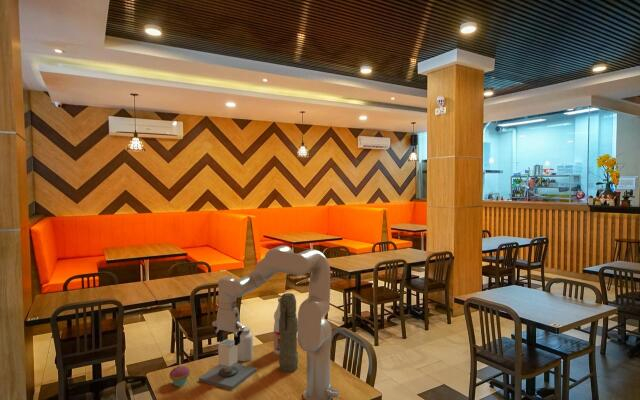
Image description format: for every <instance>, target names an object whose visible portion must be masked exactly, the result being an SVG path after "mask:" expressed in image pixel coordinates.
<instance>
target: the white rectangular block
mask: <svg viewBox="0 0 640 400" xmlns="http://www.w3.org/2000/svg"><path fill="white" fill-rule="evenodd" d="M217 344H218V345H217V346H218V347H217V348H218V349H217V350H218V353H217V354H218V358H217V359H218V365H219V366H221V367H225V368H231V367H232V366H234V365H235V364H239V363H238V362H239V360H238V345H235V344H234V339H229V338H226V339H223V340H221V341H220V342H218V343H217ZM218 365H217V366H218Z"/></svg>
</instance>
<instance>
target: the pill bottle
mask: <svg viewBox="0 0 640 400" xmlns="http://www.w3.org/2000/svg"><path fill="white" fill-rule="evenodd" d="M244 327H245V328H244V330H243V333H242V334H241V335H240V343H239V344H238V362H248V361H250V360H252V359H253V353H254V351H253V347H254V346H253V345H254V343H253V338H254V337H253V334H252V333H251V329H250V327H248V326H244ZM239 330H240V329H239Z"/></svg>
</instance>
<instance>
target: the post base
mask: <svg viewBox="0 0 640 400" xmlns="http://www.w3.org/2000/svg"><path fill="white" fill-rule="evenodd" d="M256 372H257V367H253V366H249V365H245V364H241V363H240V364H239V363H237V364H235V365H234V366H232V367H231V368H225V367H221V366H219V365H216V366H215V367H214V368H213V367H212V369H210V370H209V371H207V372H206V373H204V374H203V375H201V376H200V377H199V378H198V382H200V383H204V384H208V385H212V386H215V387H219V388H223V389H227V390H230V391H233V390H235V388H237V387H238V386H240V385H241V384H242V383H243V382H244V381H246V380H247V379H249V378H250V377H251V376H252V375H254V374H255V373H256Z"/></svg>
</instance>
